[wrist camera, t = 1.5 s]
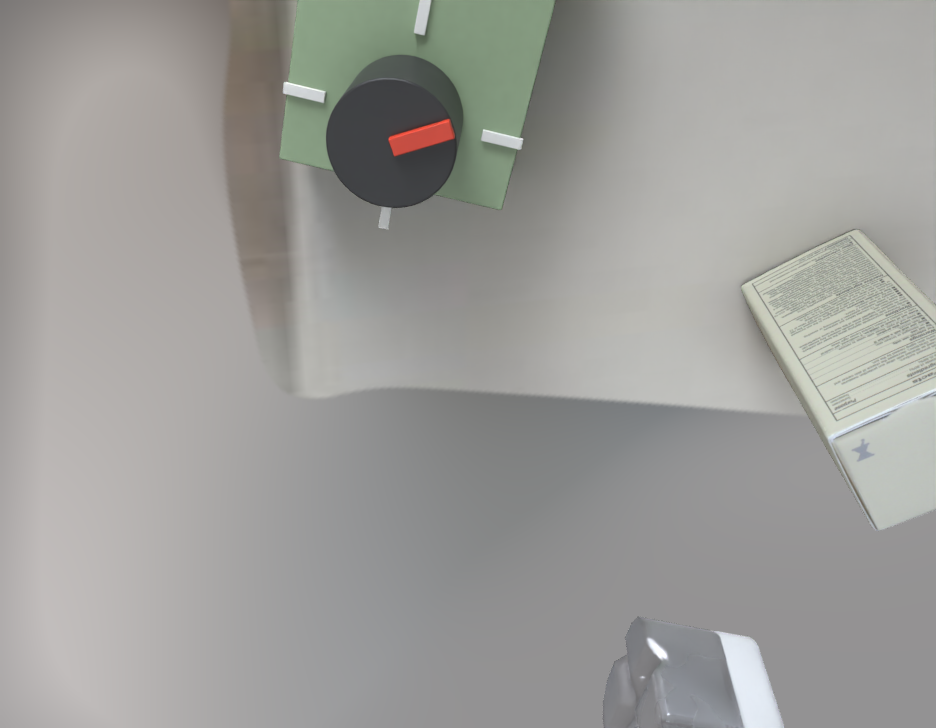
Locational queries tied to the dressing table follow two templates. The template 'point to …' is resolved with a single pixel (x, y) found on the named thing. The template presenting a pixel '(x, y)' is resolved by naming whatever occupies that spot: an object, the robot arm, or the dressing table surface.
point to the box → (859, 368)
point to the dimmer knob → (396, 132)
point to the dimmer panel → (443, 44)
